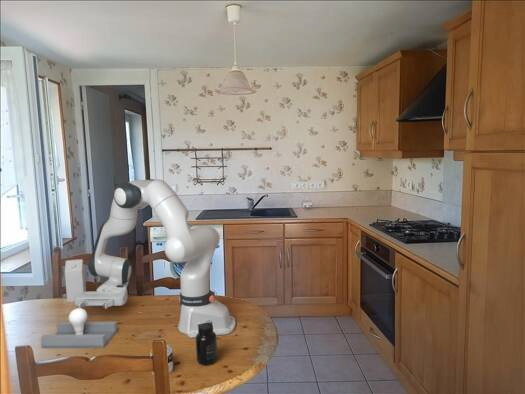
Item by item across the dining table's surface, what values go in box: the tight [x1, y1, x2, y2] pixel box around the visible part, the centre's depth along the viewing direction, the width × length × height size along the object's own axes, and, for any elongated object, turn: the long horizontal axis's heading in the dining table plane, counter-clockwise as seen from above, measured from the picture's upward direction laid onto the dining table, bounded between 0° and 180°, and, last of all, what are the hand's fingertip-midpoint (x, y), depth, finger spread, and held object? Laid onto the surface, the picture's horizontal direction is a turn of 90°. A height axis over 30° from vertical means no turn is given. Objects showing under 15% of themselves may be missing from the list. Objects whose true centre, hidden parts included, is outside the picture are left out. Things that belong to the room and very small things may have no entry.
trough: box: [40, 321, 118, 349], centre depth 137 cm, size 22×12×4 cm, turn 89°
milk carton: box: [64, 258, 87, 303], centre depth 174 cm, size 7×7×19 cm
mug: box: [149, 343, 174, 376], centre depth 118 cm, size 10×7×7 cm
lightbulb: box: [68, 307, 88, 335], centre depth 136 cm, size 6×6×11 cm
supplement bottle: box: [195, 323, 218, 366], centre depth 122 cm, size 7×7×12 cm
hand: (92, 306), depth 146 cm, fingers open, 8 cm apart
